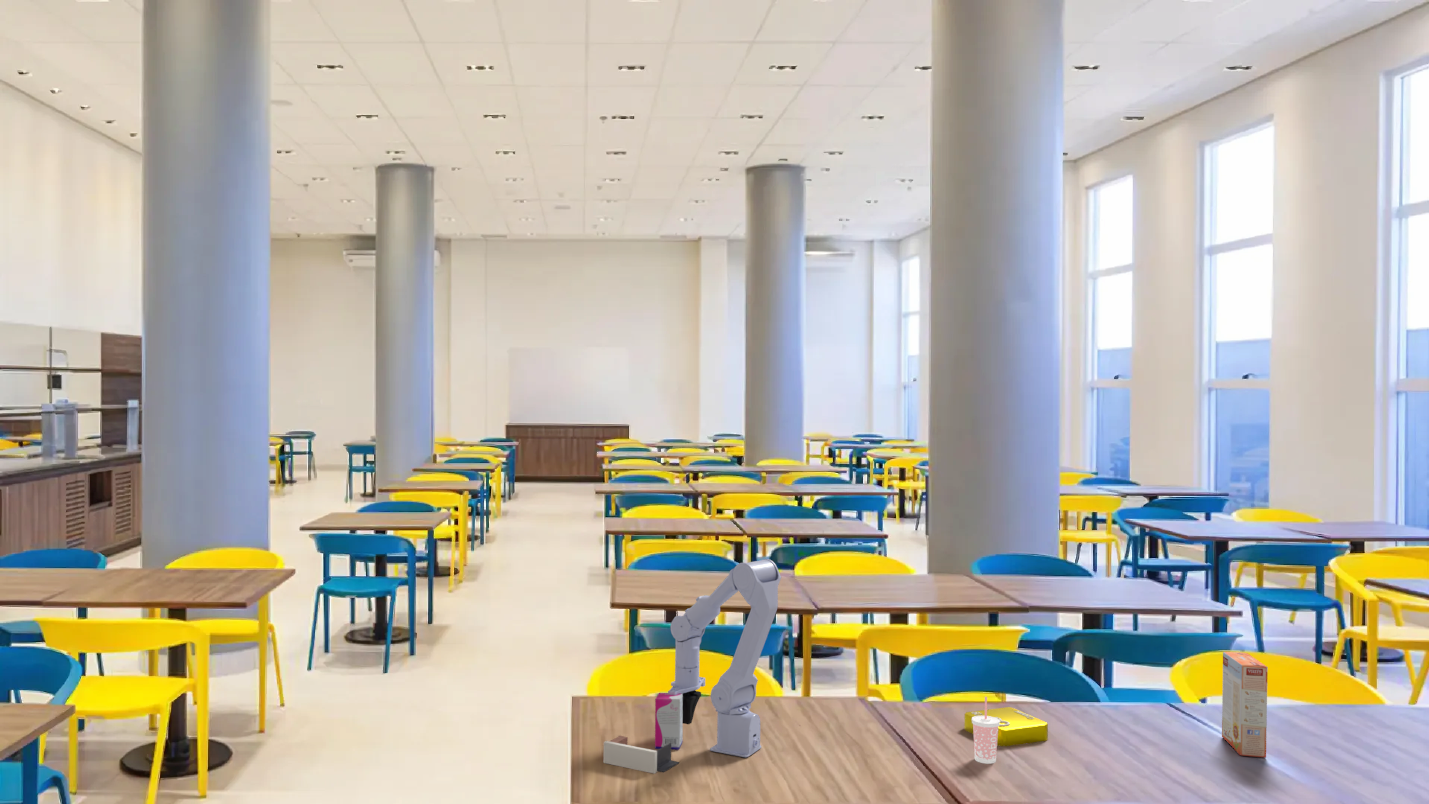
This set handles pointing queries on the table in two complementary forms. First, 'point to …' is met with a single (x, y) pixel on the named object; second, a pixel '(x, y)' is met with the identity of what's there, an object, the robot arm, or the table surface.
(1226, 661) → the cracker box
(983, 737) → the beverage cup
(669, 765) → the bookend
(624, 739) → the pink rectangular block
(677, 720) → the supplement box
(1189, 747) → the table surface
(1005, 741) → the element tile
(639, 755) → the shelf wall
